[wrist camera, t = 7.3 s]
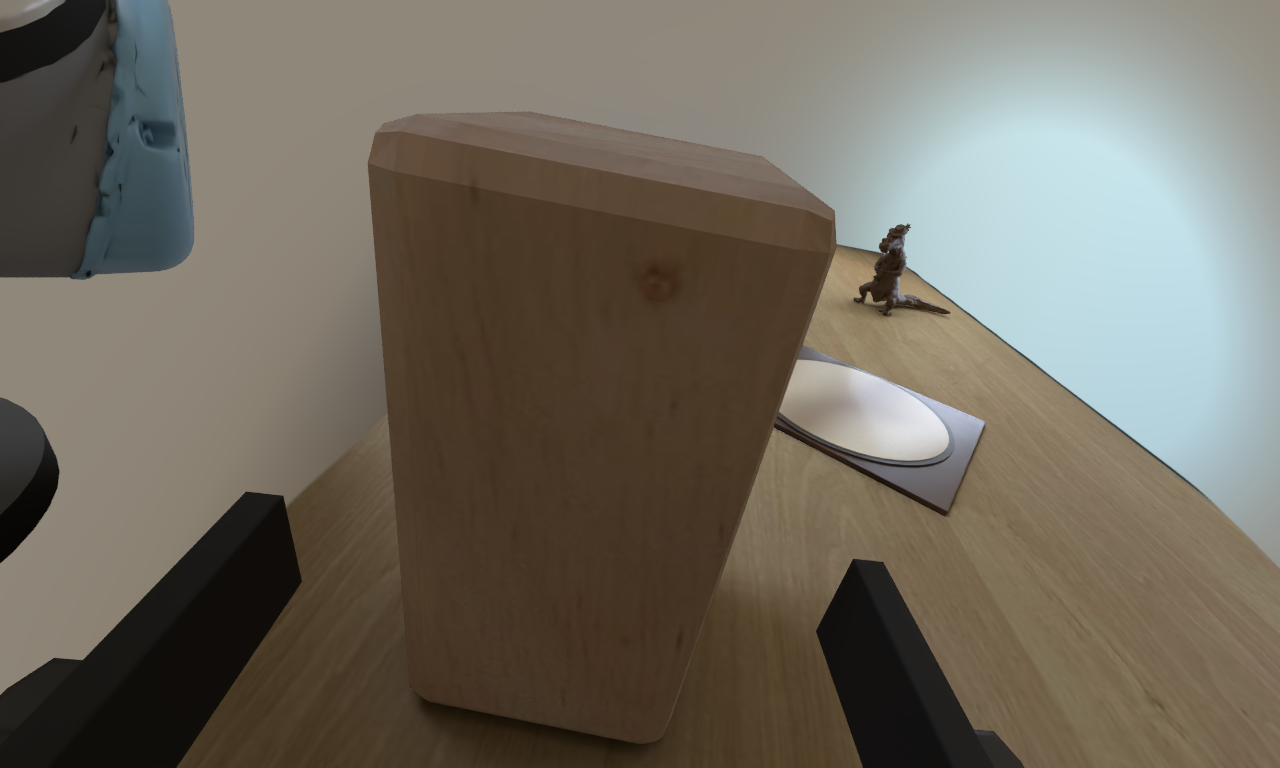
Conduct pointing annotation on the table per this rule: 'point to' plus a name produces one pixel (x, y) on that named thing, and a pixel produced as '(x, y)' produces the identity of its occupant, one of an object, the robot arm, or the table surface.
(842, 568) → the table surface
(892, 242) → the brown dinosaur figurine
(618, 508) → the wooden block
